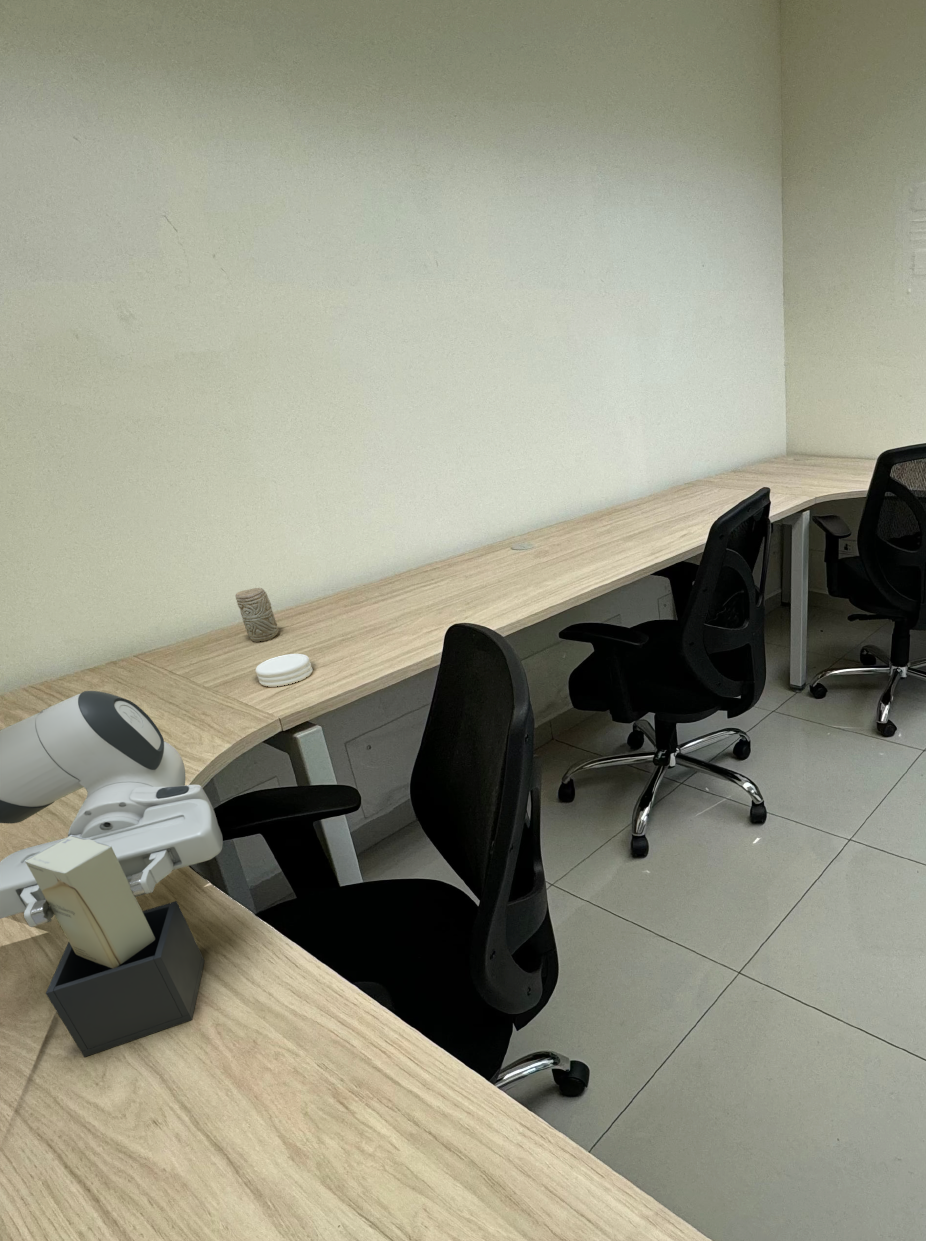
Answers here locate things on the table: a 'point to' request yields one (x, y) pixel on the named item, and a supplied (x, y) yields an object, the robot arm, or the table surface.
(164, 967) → the waste bin
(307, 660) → the white ridged disc
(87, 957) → the cosmetic box
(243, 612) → the carving
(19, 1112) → the table surface
